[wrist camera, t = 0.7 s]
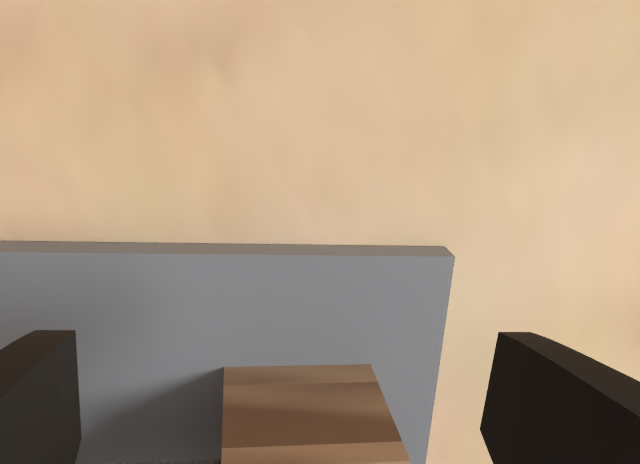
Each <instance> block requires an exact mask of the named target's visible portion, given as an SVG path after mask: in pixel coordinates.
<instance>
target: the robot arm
mask: <svg viewBox="0 0 640 464" xmlns="http://www.w3.org/2000/svg"><path fill="white" fill-rule="evenodd" d="M480 431H481V433H482V436H483V438H484V441H485V444H486V446H487V449H488V451H489V454H490V457H491V459H492V461H493V464H640V382H639V381H637V380H635V379H633V378H631V377H629V376H627V375H625V374H623V373H621V372H619V371H617V370H614V369H612V368H610V367H608V366H606V365H604V364H602V363H600V362H598V361H596V360H594V359H592V358H590V357H588V356H586V355H584V354H581V353H579V352H577V351H575V350H573V349H571V348H569V347H566V346H564V345H562V344H560V343H558V342H555V341H553V340H550V339H548V338H545V337H543V336H540V335H537V334H534V333H531V332H499V333H498V338H497V343H496V348H495V354H494V359H493V364H492V369H491V374H490V380H489V385H488V390H487V395H486V400H485V406H484V411H483V416H482V421H481V427H480ZM81 438H82V437H81V419H80V401H79V383H78V365H77V347H76V330H34V331H32V332H30V333H28V334H26V335H24V336H22V337H21V338H19V339H17V340H15V341H14V342H12V343H10V344H9V345H7V346H5V347H4V348H2V349H0V464H75V462H76V458H77V454H78V450H79V446H80V442H81Z"/></svg>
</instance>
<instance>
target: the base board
mask: <svg viewBox="0 0 640 464" xmlns="http://www.w3.org/2000/svg"><path fill="white" fill-rule="evenodd" d="M454 259H455V256H454V255H453V254H452V253H451V252H450V251H449V250H448V249H447V248H446V247H445V246H369V245H289V244H209V243H129V242H49V241H0V349H2V348H4V347H5V346H7V345H9V344H10V343H12V342H14V341H15V340H17V339H19V338H21V337H22V336H24V335H26V334H28V333H30V332H32V331H34V330H76V347H77V365H78V383H79V401H80V419H81V437H82V438H81V442H80V446H79V450H78V454H77V458H76V462H75V464H118V463H142V462H166V461H190V460H213V459H221V454H222V420H223V386H224V367H245V366H298V365H352V364H371V367H372V369H373V372H374V374H375V376H376V379H377V381H378V384H379V386H380V388H381V391H382V393H383V396H384V398H385V401H386V403H387V405H388V408H389V410H390V413H391V415H392V418H393V420H394V422H395V425H396V427H397V430H398V432H399V434H400V437H401V439H402V442H403V444H404V447H405V449H406V451H407V454H408V456H409V459H410V464H425V462H426V455H427V448H428V441H429V434H430V427H431V420H432V413H433V406H434V399H435V392H436V385H437V378H438V371H439V364H440V357H441V350H442V343H443V336H444V329H445V322H446V315H447V308H448V301H449V294H450V287H451V280H452V273H453V266H454Z"/></svg>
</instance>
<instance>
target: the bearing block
mask: <svg viewBox="0 0 640 464" xmlns="http://www.w3.org/2000/svg"><path fill="white" fill-rule="evenodd" d="M221 464H410V459H409V456H408V454H407V451H406V449H405V447H404V444H403V442H402V439H401V437H400V434H399V432H398V430H397V427H396V425H395V422H394V420H393V418H392V415H391V413H390V410H389V408H388V405H387V403H386V401H385V398H384V396H383V393H382V391H381V388H380V386H379V384H378V381H377V379H376V376H375V374H374V372H373V369H372V367H371V364H352V365H298V366H245V367H224V386H223V420H222V454H221Z"/></svg>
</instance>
